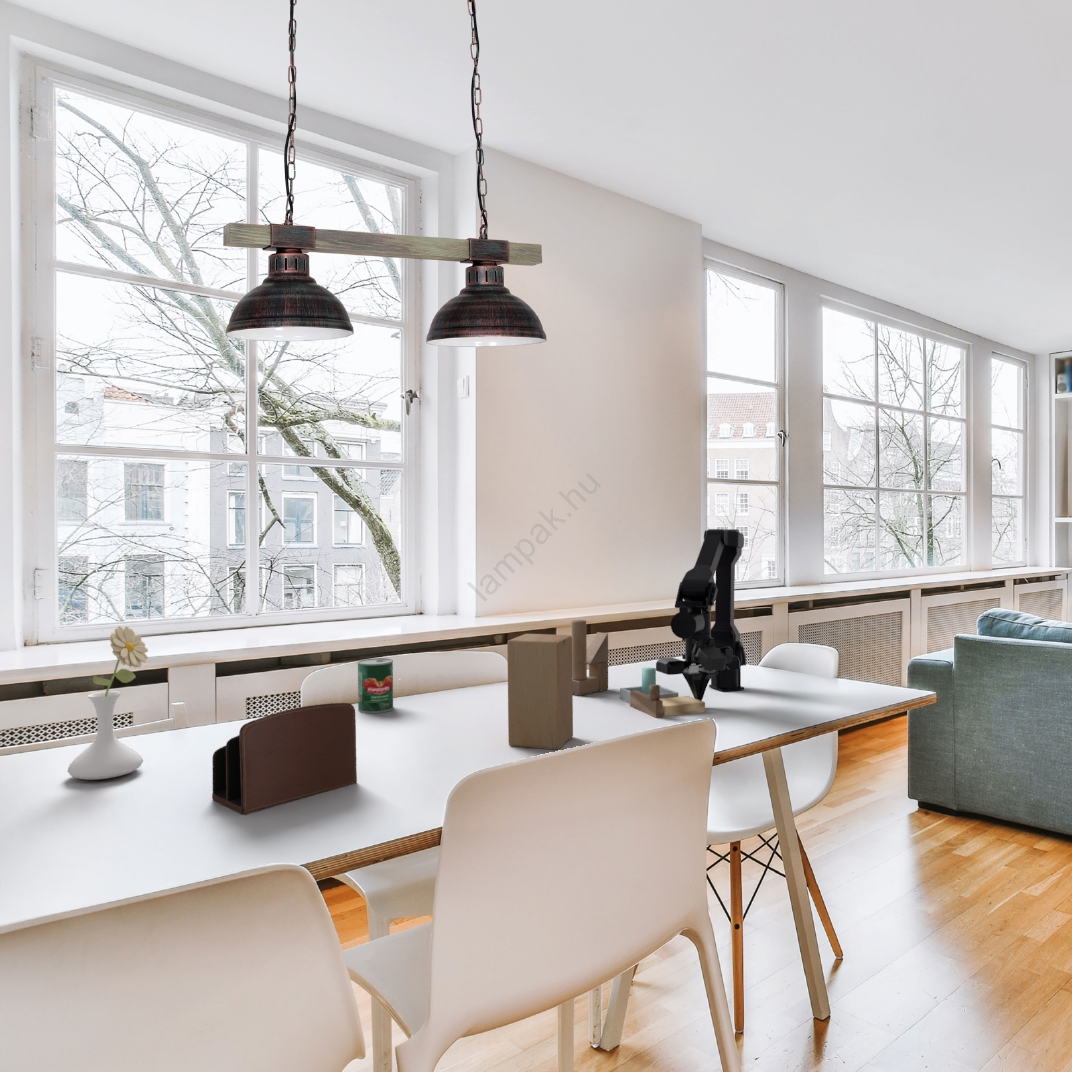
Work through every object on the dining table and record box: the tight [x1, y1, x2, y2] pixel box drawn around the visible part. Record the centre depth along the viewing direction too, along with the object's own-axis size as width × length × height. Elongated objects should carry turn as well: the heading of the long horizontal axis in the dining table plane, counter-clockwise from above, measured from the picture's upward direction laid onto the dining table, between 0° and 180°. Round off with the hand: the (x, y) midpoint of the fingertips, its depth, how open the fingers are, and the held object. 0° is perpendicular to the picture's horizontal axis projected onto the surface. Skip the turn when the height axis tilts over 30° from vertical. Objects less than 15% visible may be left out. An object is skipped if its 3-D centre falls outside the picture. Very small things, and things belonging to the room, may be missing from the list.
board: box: [660, 695, 706, 717], centre depth 182 cm, size 10×7×2 cm
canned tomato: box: [357, 657, 394, 714], centre depth 186 cm, size 8×8×11 cm
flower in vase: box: [66, 625, 149, 781], centre depth 140 cm, size 13×11×25 cm
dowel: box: [641, 667, 657, 695], centre depth 191 cm, size 3×3×7 cm
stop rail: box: [629, 684, 664, 719], centre depth 181 cm, size 2×12×6 cm, turn 20°
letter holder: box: [211, 702, 358, 816], centre depth 130 cm, size 10×20×14 cm, turn 137°
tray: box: [619, 685, 679, 704], centre depth 191 cm, size 10×10×2 cm
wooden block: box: [506, 633, 574, 751], centre depth 157 cm, size 10×10×20 cm
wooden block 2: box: [571, 619, 609, 697], centre depth 202 cm, size 4×11×18 cm, turn 135°
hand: (698, 702), depth 184 cm, fingers closed
